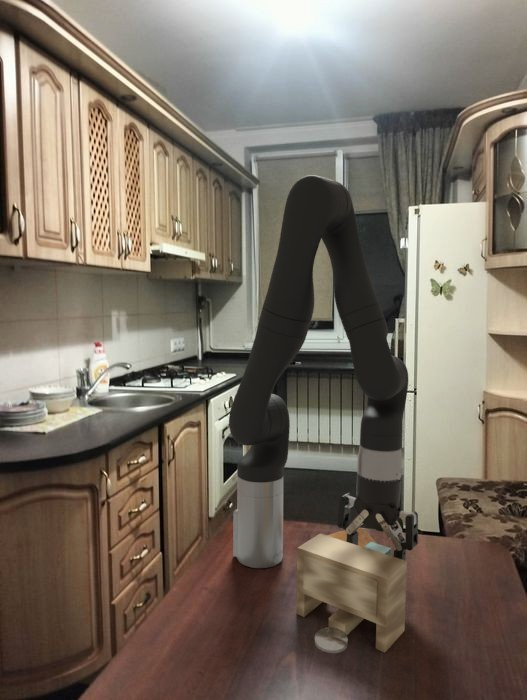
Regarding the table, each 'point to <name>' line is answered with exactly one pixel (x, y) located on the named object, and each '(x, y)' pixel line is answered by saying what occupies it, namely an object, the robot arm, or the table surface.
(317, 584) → the wooden arch block
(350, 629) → the two-colour block
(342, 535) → the pottery shard
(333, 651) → the disc
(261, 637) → the table surface
